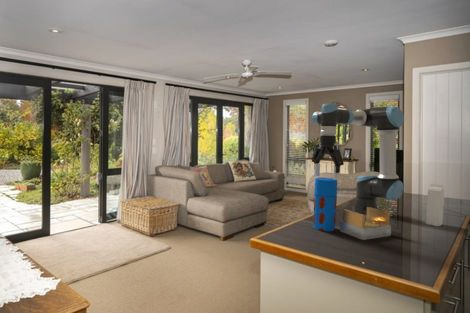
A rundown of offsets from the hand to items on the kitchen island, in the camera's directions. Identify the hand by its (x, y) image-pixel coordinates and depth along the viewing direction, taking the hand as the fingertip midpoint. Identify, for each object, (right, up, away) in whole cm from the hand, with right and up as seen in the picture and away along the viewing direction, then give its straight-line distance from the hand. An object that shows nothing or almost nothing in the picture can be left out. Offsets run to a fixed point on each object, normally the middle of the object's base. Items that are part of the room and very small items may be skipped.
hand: (326, 177), depth 156 cm
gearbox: (+17, -26, -5) cm, 32 cm away
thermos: (-1, -26, +2) cm, 26 cm away
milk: (+64, -27, +15) cm, 71 cm away
